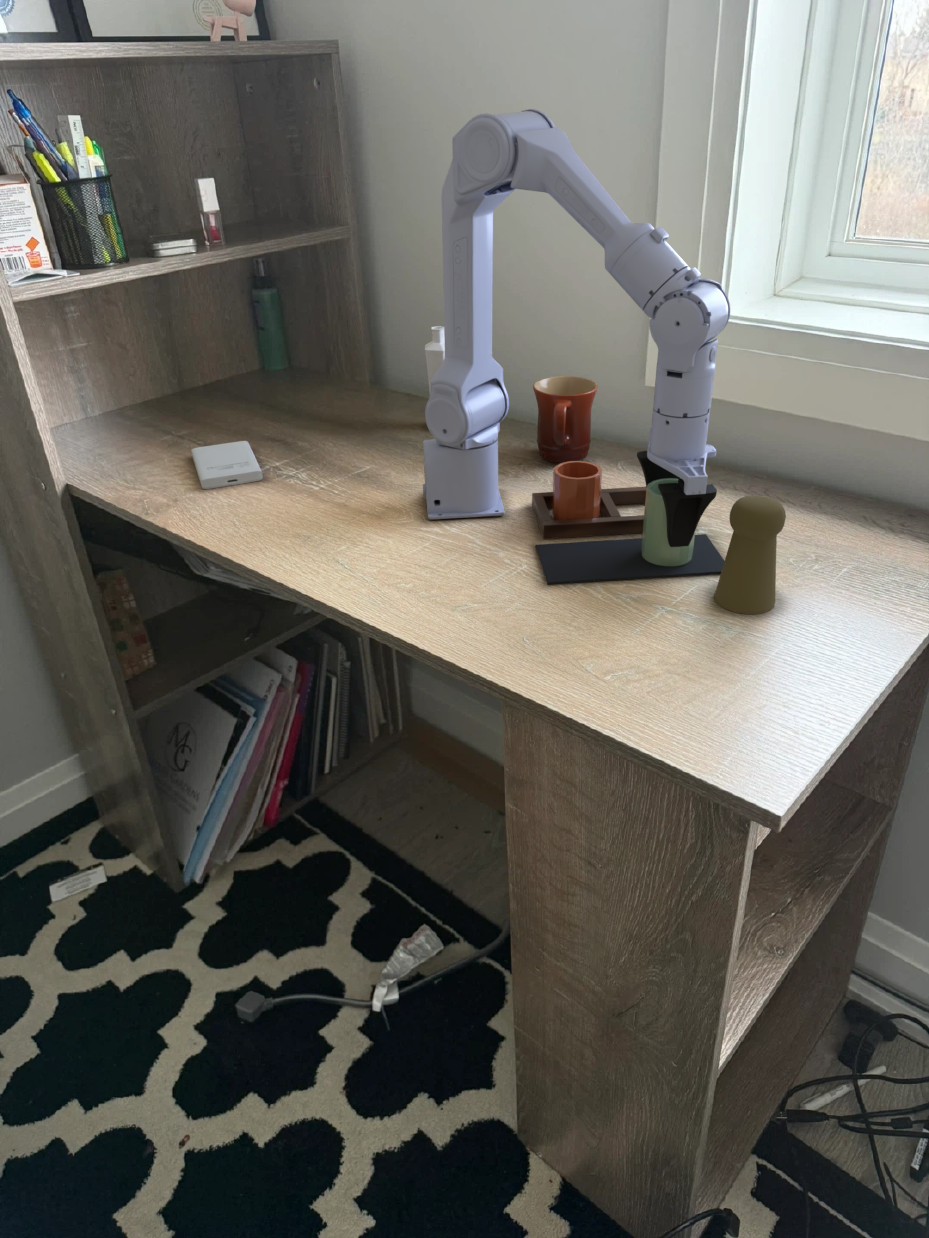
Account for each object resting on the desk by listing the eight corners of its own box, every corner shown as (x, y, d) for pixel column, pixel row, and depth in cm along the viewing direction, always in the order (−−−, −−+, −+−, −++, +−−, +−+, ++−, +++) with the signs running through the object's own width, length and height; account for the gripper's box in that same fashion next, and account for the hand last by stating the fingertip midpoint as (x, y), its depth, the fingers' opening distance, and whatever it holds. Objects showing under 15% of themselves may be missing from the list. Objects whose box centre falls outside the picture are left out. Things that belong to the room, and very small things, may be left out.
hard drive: (249, 450, 132) (263, 480, 122) (192, 459, 130) (202, 490, 120) (247, 440, 132) (261, 469, 122) (190, 448, 129) (199, 478, 119)
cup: (648, 568, 98) (654, 500, 93) (635, 545, 102) (641, 479, 98) (698, 565, 98) (707, 497, 94) (684, 542, 103) (691, 476, 98)
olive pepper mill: (739, 619, 89) (755, 518, 83) (702, 592, 93) (714, 494, 88) (787, 605, 91) (806, 506, 85) (749, 579, 95) (764, 483, 90)
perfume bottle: (438, 419, 142) (434, 322, 134) (461, 424, 139) (458, 326, 132) (420, 428, 138) (415, 329, 131) (443, 433, 136) (439, 333, 128)
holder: (543, 539, 105) (543, 525, 104) (531, 506, 113) (532, 492, 112) (691, 530, 106) (692, 516, 105) (669, 498, 114) (670, 484, 113)
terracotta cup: (556, 531, 107) (558, 480, 103) (549, 511, 111) (550, 462, 108) (603, 528, 107) (606, 477, 103) (593, 508, 112) (596, 459, 108)
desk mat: (547, 584, 96) (547, 582, 95) (535, 546, 103) (535, 544, 103) (731, 573, 97) (731, 570, 97) (705, 536, 104) (706, 534, 104)
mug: (536, 444, 131) (537, 374, 126) (596, 447, 130) (600, 376, 124) (524, 476, 121) (525, 402, 116) (589, 479, 120) (593, 404, 114)
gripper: (744, 431, 85) (726, 557, 92) (698, 385, 98) (685, 500, 105) (671, 435, 85) (659, 561, 92) (634, 389, 97) (626, 503, 104)
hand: (669, 529), depth 98 cm, fingers open, 7 cm apart
